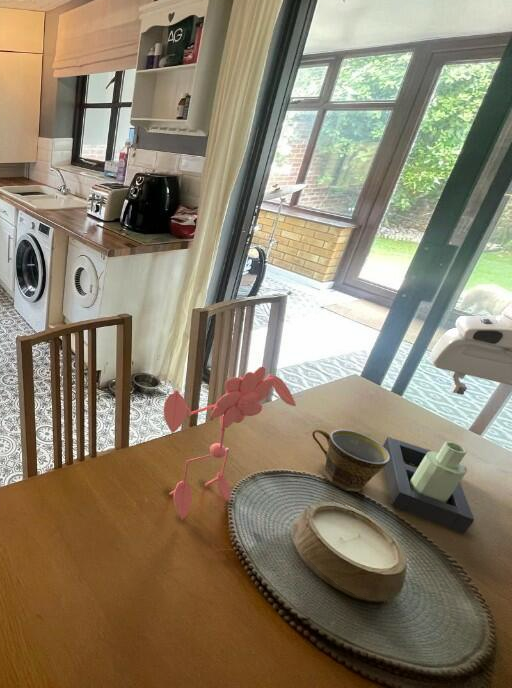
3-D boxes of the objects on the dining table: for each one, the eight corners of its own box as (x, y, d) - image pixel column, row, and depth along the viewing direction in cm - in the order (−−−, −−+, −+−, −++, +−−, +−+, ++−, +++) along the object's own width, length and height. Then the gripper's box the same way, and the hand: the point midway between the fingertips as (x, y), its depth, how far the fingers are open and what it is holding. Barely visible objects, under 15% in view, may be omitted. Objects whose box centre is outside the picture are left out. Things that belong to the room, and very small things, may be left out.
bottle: (437, 497, 87) (472, 444, 81) (443, 517, 83) (481, 463, 77) (401, 484, 90) (432, 432, 84) (405, 503, 86) (438, 449, 80)
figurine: (133, 499, 86) (162, 359, 71) (233, 474, 93) (279, 340, 78) (180, 570, 73) (228, 415, 58) (293, 535, 79) (363, 387, 64)
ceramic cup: (376, 482, 91) (395, 448, 87) (364, 506, 85) (383, 471, 81) (309, 448, 100) (323, 416, 96) (293, 468, 94) (308, 435, 90)
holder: (441, 469, 94) (449, 456, 93) (464, 533, 80) (474, 519, 78) (380, 449, 100) (387, 436, 98) (391, 505, 85) (399, 492, 84)
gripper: (619, 346, 67) (570, 413, 73) (446, 314, 78) (415, 375, 84) (641, 363, 62) (587, 433, 68) (455, 327, 73) (421, 390, 79)
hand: (491, 401), depth 76 cm, fingers open, 8 cm apart
